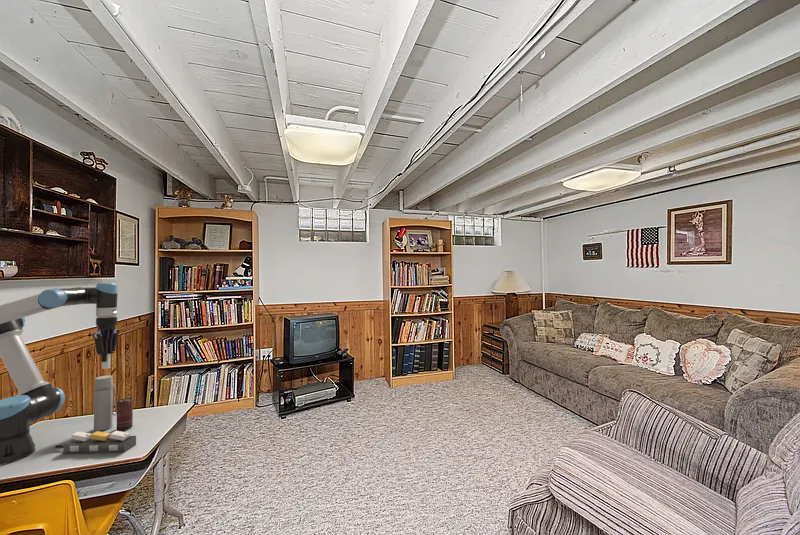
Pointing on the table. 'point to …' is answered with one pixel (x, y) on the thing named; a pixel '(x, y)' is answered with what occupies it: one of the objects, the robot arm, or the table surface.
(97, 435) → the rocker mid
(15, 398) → the robot arm
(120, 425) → the can
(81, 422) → the table surface
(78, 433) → the rocker
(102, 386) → the water bottle
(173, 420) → the table surface
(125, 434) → the rocker
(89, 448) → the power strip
